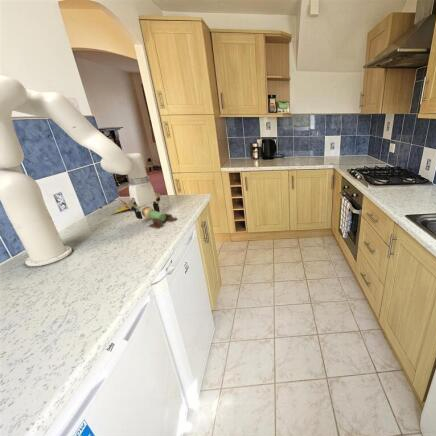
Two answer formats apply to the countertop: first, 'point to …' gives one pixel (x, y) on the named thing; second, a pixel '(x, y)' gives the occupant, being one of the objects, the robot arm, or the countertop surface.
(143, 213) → the peg doll
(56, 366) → the countertop surface
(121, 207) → the origami crane
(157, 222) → the stand
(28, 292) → the countertop surface
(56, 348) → the countertop surface
